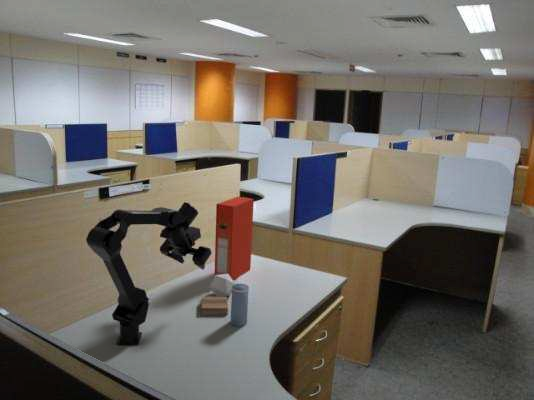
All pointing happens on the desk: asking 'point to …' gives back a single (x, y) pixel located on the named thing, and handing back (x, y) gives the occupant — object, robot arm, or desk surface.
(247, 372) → the desk surface
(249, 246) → the file binder
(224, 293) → the die
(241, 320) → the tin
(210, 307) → the base slab
